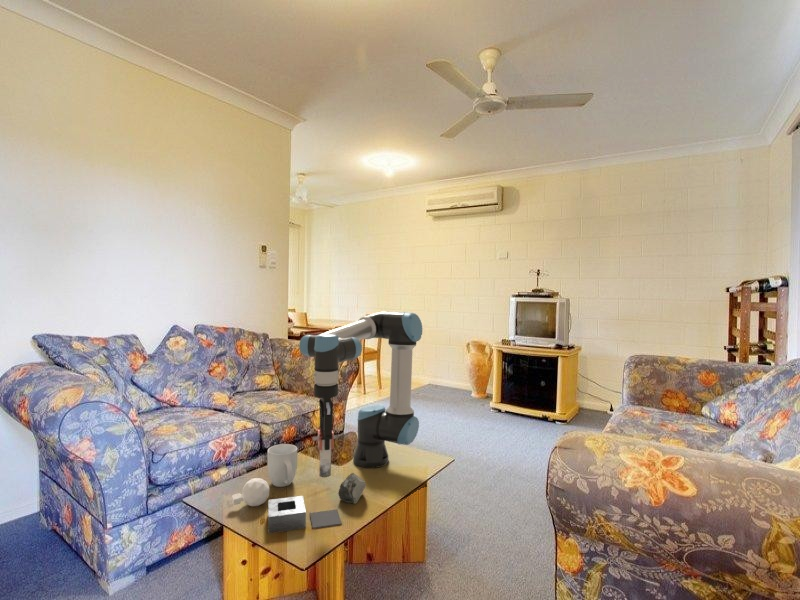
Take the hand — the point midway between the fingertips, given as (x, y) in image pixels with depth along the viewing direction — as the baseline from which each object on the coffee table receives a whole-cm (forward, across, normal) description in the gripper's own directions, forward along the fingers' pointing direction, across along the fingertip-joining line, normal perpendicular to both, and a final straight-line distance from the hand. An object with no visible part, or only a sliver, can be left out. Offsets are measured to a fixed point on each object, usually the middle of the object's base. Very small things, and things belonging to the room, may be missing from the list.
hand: (325, 455), depth 138 cm
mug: (+21, -29, -12) cm, 37 cm away
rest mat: (+20, 0, 0) cm, 20 cm away
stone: (+21, -10, +11) cm, 26 cm away
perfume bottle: (+21, -16, -23) cm, 35 cm away
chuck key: (+6, 0, 0) cm, 6 cm away
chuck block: (+20, -2, -12) cm, 24 cm away
